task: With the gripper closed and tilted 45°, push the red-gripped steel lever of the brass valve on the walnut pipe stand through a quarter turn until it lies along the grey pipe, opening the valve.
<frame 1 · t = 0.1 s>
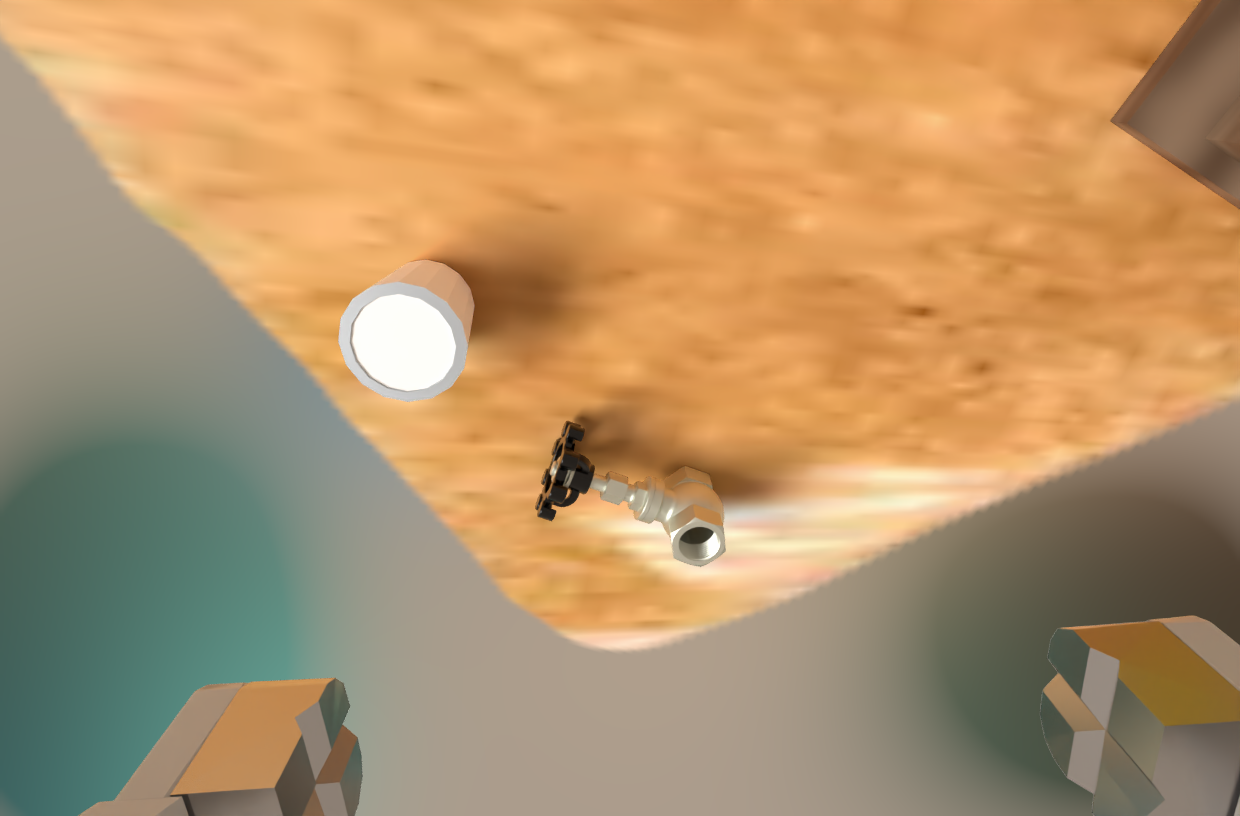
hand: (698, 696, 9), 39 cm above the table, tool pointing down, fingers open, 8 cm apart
white cylinder: (429, 303, 47), on the table
valve: (635, 469, 53), on the table
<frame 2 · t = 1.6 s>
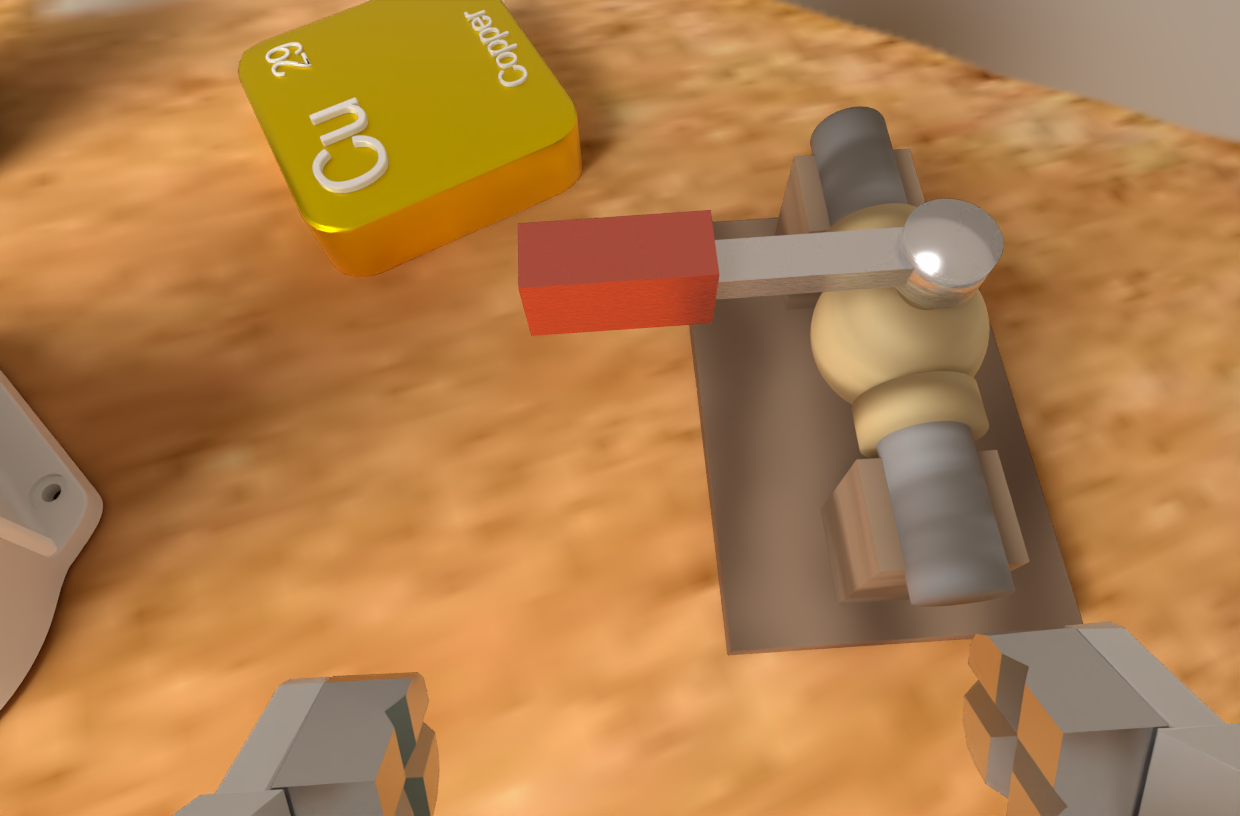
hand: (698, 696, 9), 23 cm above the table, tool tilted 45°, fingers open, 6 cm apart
valve stand: (848, 413, 36), on the table
element tile: (424, 148, 44), on the table
valve lever: (757, 265, 24), point 13 cm above the table, hinge at 0.0°
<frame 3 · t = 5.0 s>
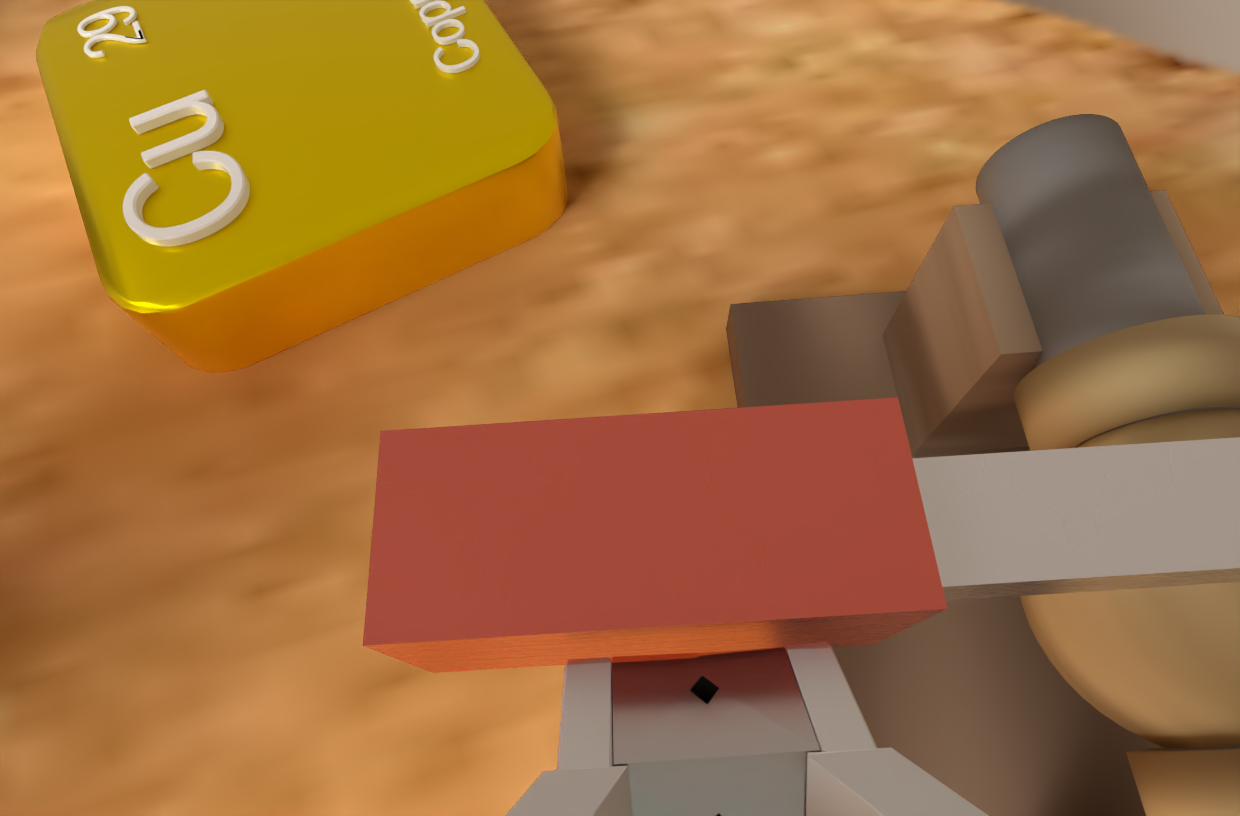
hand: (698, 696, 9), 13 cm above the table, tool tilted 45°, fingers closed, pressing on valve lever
valve stand: (1026, 636, 21), on the table
element tile: (333, 166, 30), on the table
valve lever: (1004, 523, 9), point 13 cm above the table, hinge at 0.7°, touching gripper
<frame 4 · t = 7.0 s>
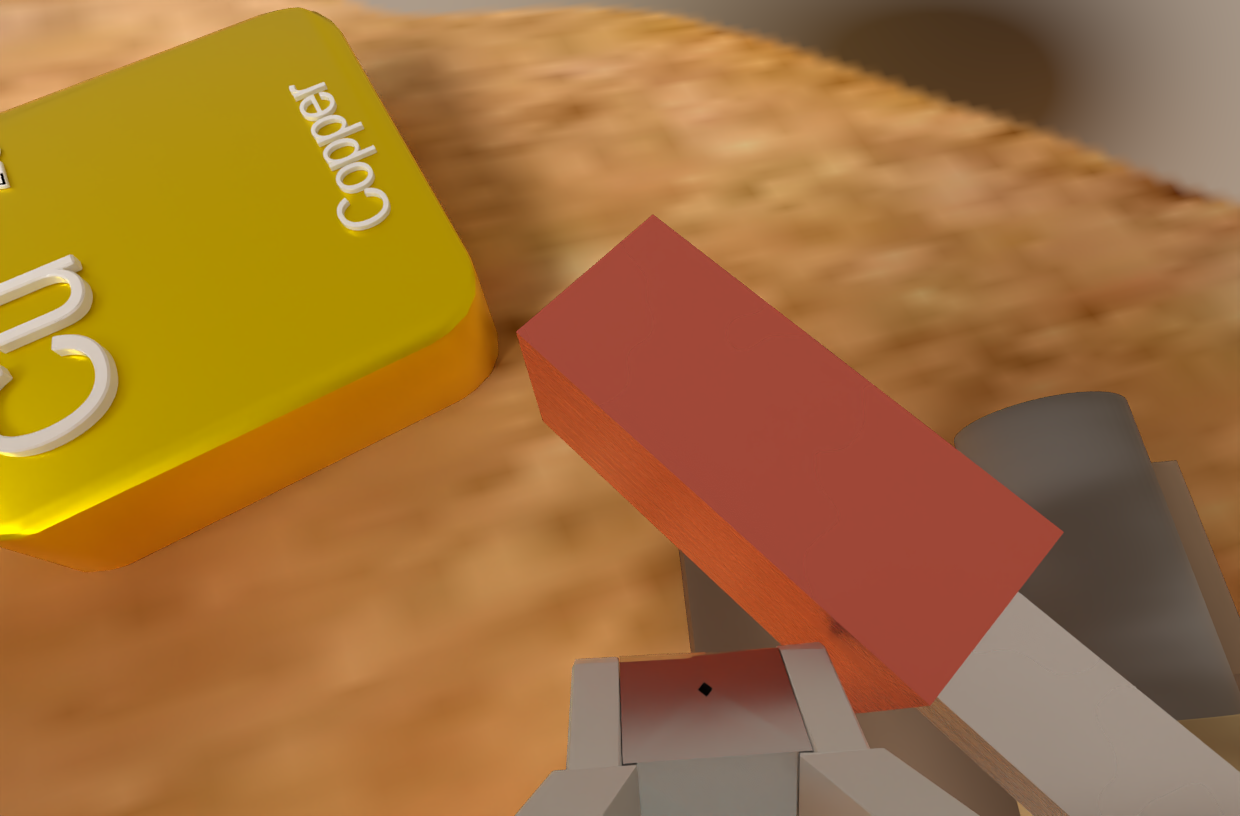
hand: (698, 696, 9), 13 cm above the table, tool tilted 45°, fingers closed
element tile: (238, 306, 27), on the table
valve lever: (1060, 728, 9), point 13 cm above the table, hinge at 49.4°, touching gripper
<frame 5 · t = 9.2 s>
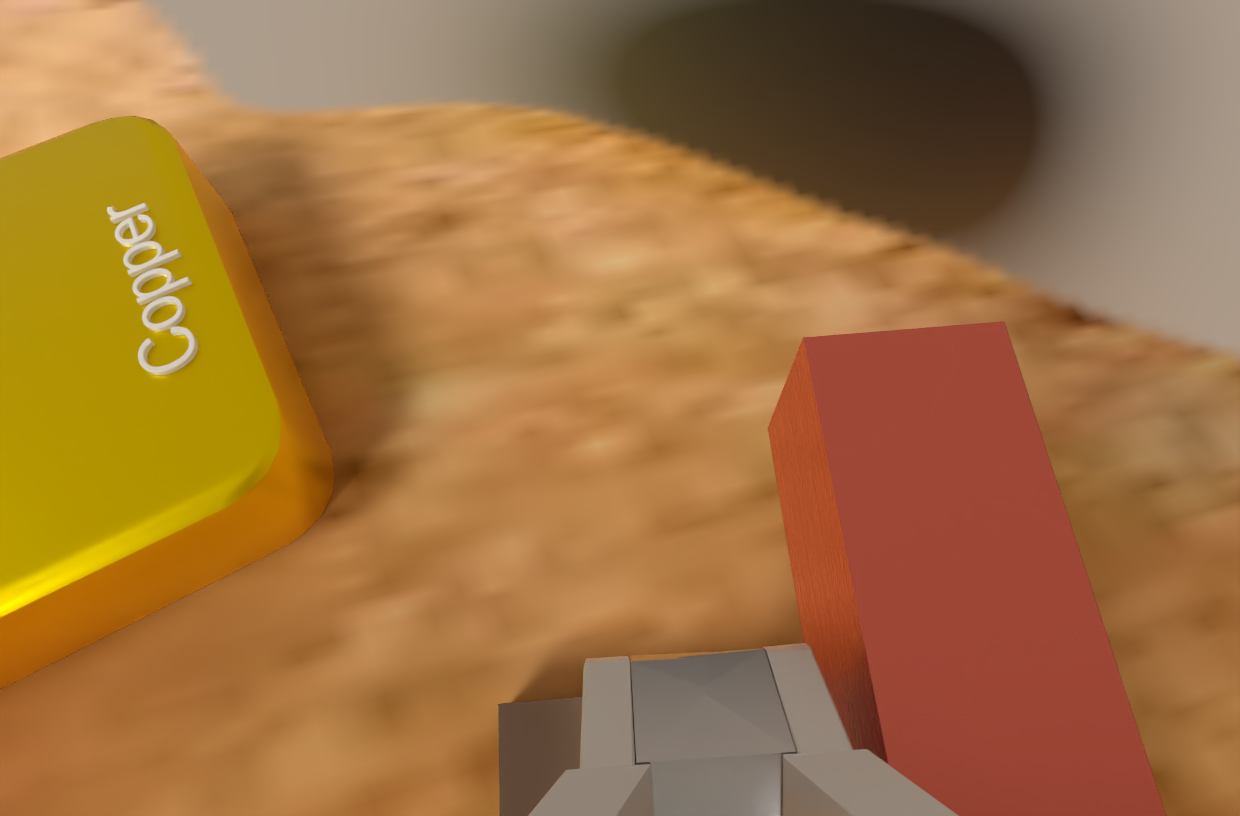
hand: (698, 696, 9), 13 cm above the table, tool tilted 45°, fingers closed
element tile: (69, 431, 25), on the table
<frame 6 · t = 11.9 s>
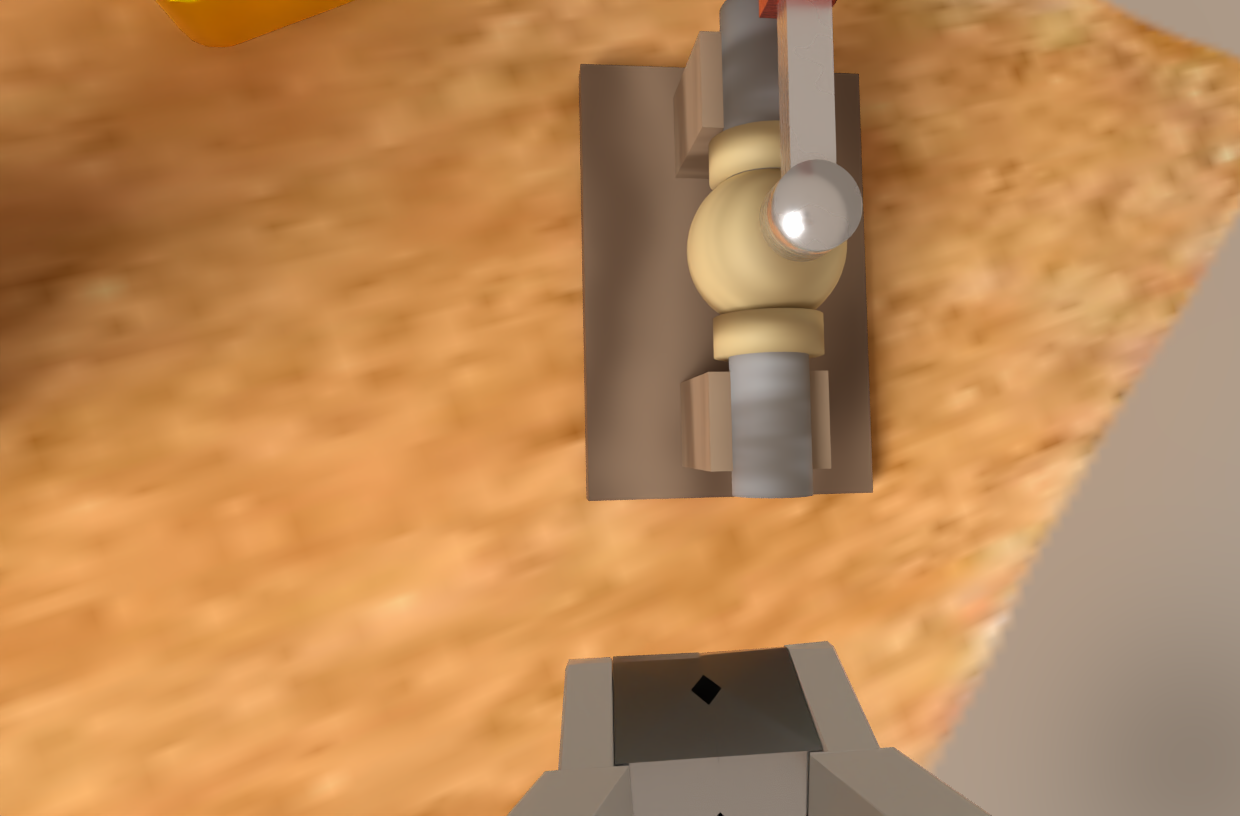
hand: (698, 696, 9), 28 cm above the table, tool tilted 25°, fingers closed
valve stand: (720, 286, 38), on the table
valve lever: (805, 39, 26), point 13 cm above the table, hinge at 90.3°
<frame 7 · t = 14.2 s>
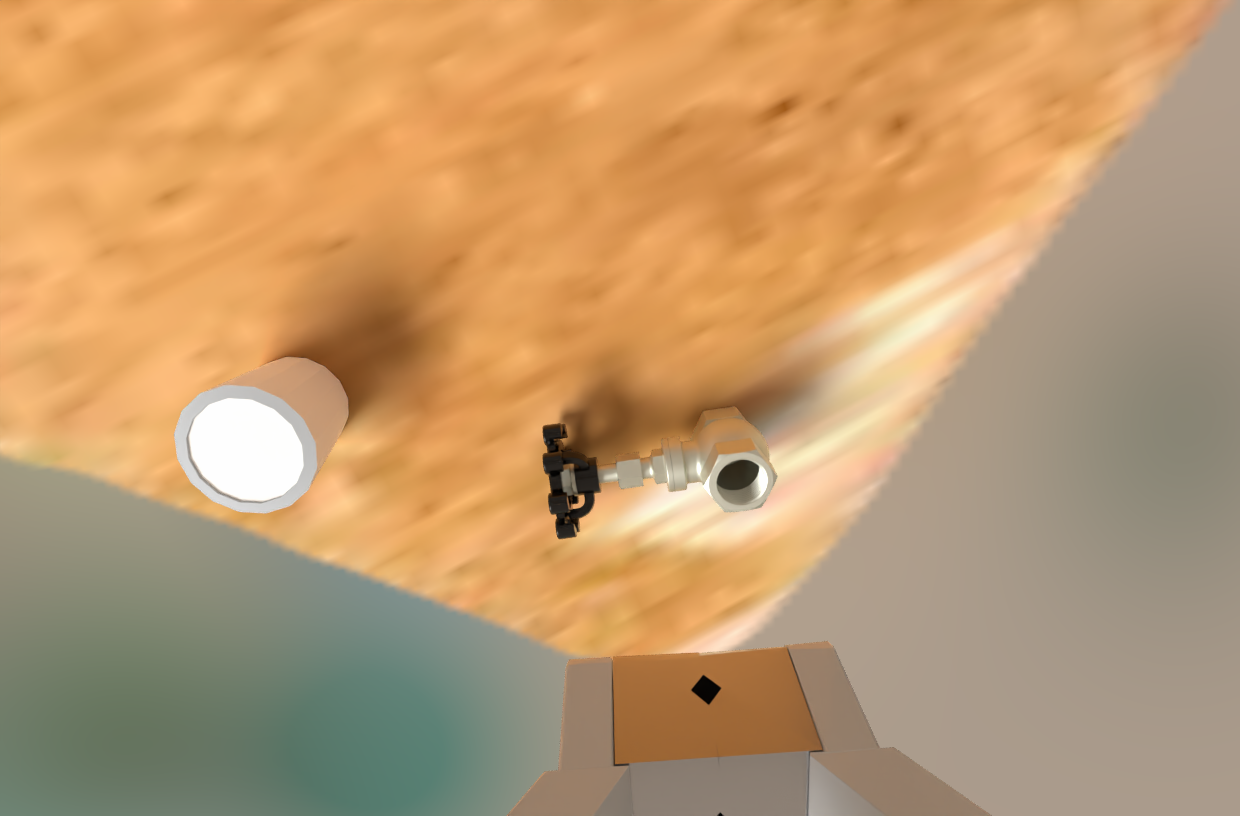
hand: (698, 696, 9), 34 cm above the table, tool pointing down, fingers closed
white cylinder: (300, 402, 44), on the table
valve: (655, 441, 45), on the table
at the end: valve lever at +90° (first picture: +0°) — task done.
